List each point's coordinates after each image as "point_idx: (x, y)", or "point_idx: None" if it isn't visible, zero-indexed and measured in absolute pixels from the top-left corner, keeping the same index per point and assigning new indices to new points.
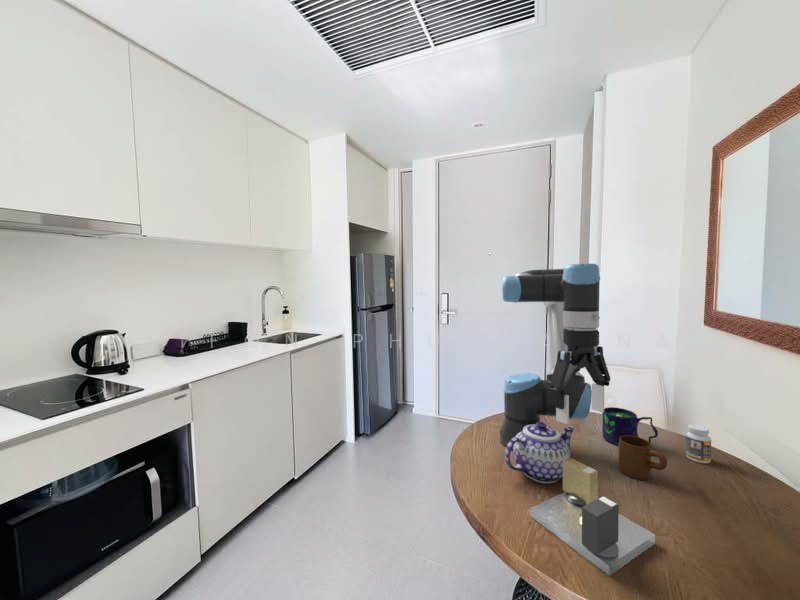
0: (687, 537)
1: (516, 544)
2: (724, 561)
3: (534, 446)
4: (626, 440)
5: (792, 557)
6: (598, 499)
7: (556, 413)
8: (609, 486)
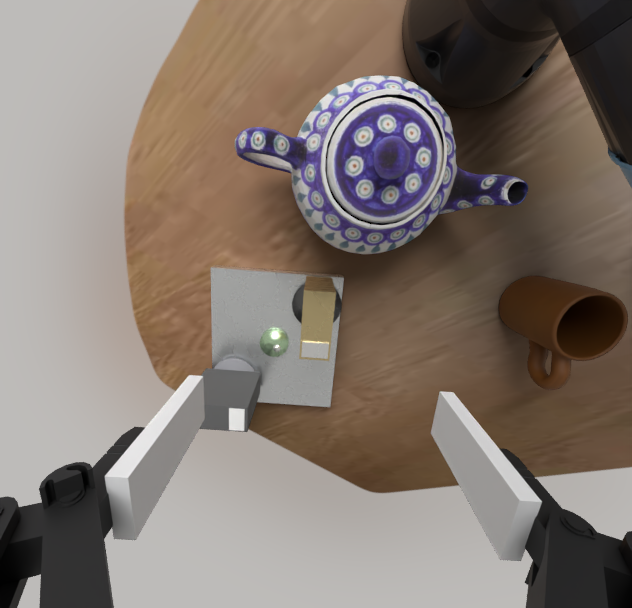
0: (382, 416)
1: (144, 293)
2: (369, 450)
3: (310, 192)
4: (602, 296)
5: (444, 486)
6: (229, 407)
7: (176, 393)
8: (430, 297)
